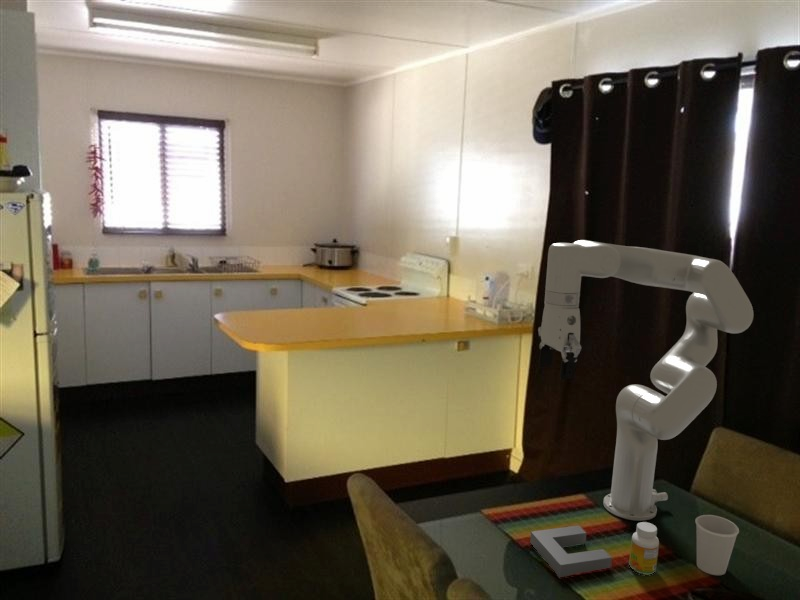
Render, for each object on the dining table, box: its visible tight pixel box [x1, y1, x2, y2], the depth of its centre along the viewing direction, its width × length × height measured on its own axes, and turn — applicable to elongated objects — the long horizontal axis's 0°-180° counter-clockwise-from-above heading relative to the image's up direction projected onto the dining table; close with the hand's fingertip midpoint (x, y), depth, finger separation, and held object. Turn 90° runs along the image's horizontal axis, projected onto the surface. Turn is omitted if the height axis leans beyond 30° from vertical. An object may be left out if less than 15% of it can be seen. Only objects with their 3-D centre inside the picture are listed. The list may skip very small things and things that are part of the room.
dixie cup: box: [695, 514, 740, 576], centre depth 141 cm, size 8×8×10 cm
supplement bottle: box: [628, 521, 660, 575], centre depth 139 cm, size 5×5×10 cm
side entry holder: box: [529, 525, 613, 579], centre depth 143 cm, size 12×13×3 cm
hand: (555, 372), depth 152 cm, fingers open, 9 cm apart
